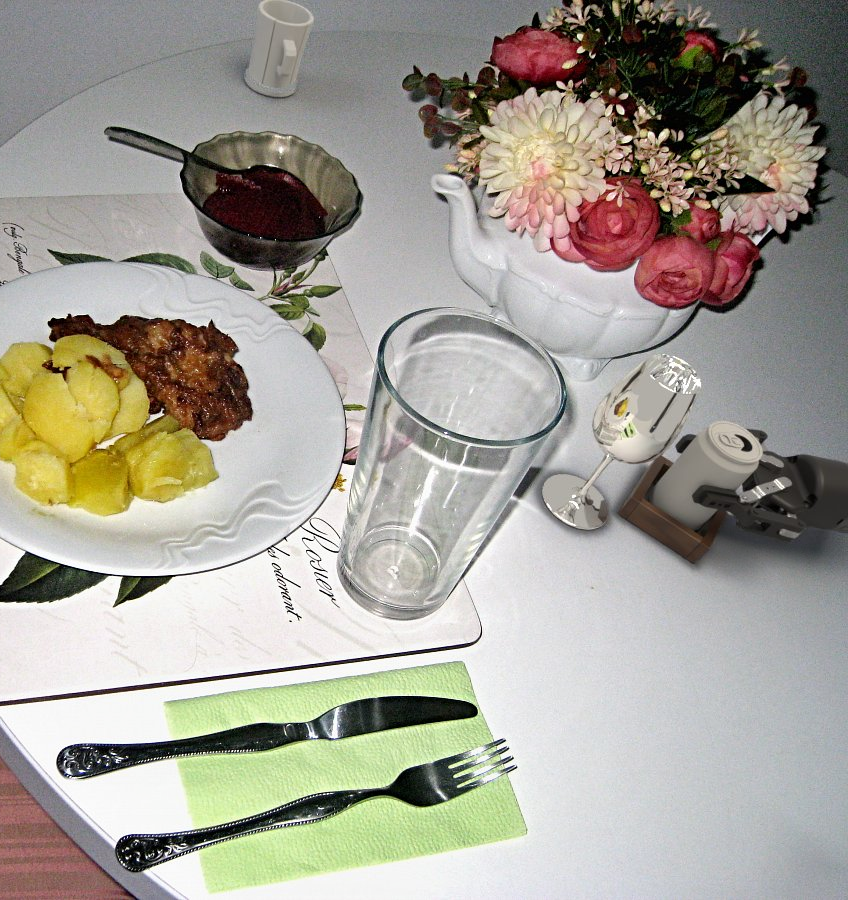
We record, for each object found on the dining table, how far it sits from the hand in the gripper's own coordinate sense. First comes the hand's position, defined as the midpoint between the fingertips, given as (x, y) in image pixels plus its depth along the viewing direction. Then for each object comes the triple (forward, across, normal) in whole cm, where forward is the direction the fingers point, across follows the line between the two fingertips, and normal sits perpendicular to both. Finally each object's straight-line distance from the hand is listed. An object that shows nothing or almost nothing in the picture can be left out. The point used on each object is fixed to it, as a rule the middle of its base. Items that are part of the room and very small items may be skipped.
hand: (688, 468), depth 94 cm
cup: (+48, -78, +7) cm, 92 cm away
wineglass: (+9, +1, +8) cm, 12 cm away
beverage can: (-2, 0, +7) cm, 8 cm away
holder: (-2, 0, +8) cm, 8 cm away
